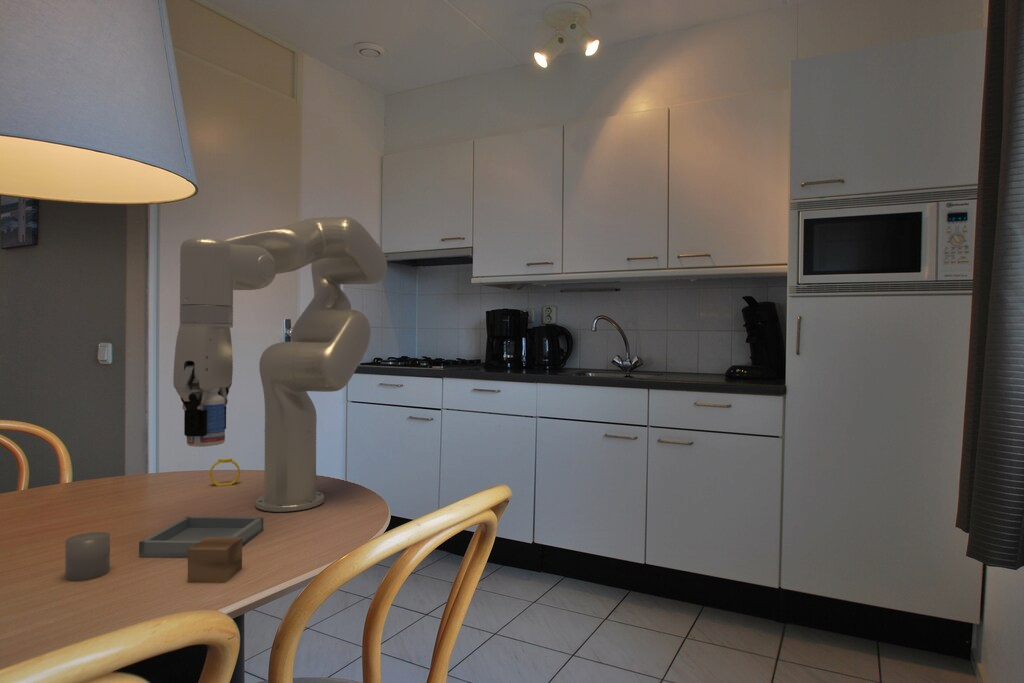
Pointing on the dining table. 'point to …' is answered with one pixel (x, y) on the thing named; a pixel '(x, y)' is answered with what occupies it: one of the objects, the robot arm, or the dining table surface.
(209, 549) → the walnut block
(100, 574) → the smooth grey pebble
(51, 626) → the dining table surface
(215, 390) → the pill bottle
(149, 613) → the dining table surface
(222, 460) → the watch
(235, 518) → the slate tray
